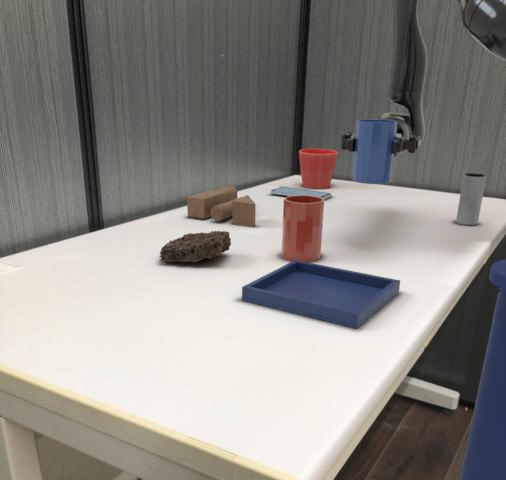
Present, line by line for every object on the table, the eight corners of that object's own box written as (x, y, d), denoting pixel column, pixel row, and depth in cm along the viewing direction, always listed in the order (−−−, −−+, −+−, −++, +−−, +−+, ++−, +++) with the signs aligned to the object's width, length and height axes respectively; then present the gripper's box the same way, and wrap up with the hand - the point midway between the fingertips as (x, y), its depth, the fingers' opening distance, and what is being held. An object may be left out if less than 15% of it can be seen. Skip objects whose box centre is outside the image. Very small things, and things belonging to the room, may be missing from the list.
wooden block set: (183, 192, 123) (225, 180, 138) (184, 218, 126) (225, 204, 140) (252, 200, 116) (289, 186, 131) (252, 228, 119) (288, 211, 133)
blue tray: (398, 293, 85) (400, 280, 84) (356, 328, 73) (358, 314, 72) (294, 271, 93) (295, 259, 92) (241, 300, 81) (241, 286, 80)
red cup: (327, 254, 102) (331, 198, 98) (309, 264, 97) (312, 205, 92) (293, 248, 105) (296, 193, 101) (274, 257, 100) (276, 200, 96)
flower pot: (341, 189, 160) (344, 152, 156) (304, 190, 157) (306, 153, 153) (327, 182, 169) (329, 148, 165) (292, 183, 167) (293, 148, 162)
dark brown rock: (237, 254, 101) (237, 226, 99) (218, 271, 93) (217, 241, 91) (177, 248, 104) (176, 220, 102) (153, 264, 96) (151, 234, 93)
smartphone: (321, 198, 144) (269, 190, 150) (320, 202, 144) (269, 194, 151) (332, 193, 149) (282, 186, 156) (332, 197, 150) (282, 189, 156)
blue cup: (396, 179, 102) (403, 120, 98) (382, 185, 97) (389, 122, 93) (361, 176, 106) (366, 118, 102) (346, 181, 101) (350, 121, 96)
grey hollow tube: (469, 220, 128) (477, 172, 123) (481, 224, 124) (490, 176, 119) (451, 221, 127) (459, 173, 122) (463, 226, 123) (471, 176, 118)
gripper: (353, 115, 112) (332, 121, 98) (428, 118, 107) (418, 124, 93) (350, 155, 115) (330, 166, 101) (423, 159, 110) (413, 171, 96)
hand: (372, 146), depth 97 cm, fingers closed on blue cup, 7 cm apart
